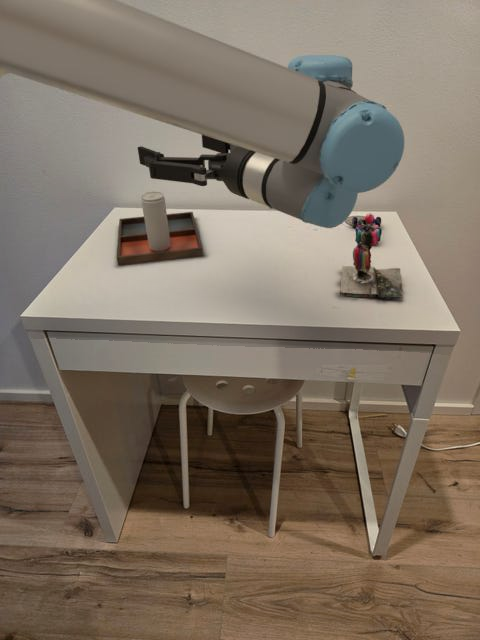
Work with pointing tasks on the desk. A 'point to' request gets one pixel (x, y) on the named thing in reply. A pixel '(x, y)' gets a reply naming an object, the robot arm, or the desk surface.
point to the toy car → (362, 221)
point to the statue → (369, 268)
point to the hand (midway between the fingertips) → (173, 146)
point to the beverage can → (156, 221)
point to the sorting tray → (137, 247)
